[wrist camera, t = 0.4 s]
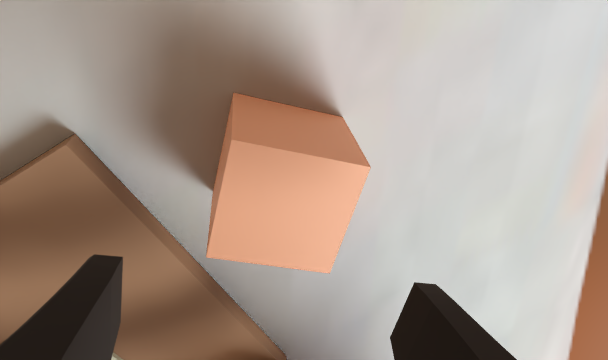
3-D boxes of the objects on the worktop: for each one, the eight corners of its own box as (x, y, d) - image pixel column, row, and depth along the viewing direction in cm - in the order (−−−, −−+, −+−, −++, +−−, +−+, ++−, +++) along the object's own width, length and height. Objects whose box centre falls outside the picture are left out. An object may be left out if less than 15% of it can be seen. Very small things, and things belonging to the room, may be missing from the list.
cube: (342, 116, 18) (370, 166, 14) (312, 207, 20) (329, 273, 16) (233, 92, 17) (231, 139, 13) (213, 190, 19) (206, 257, 15)
